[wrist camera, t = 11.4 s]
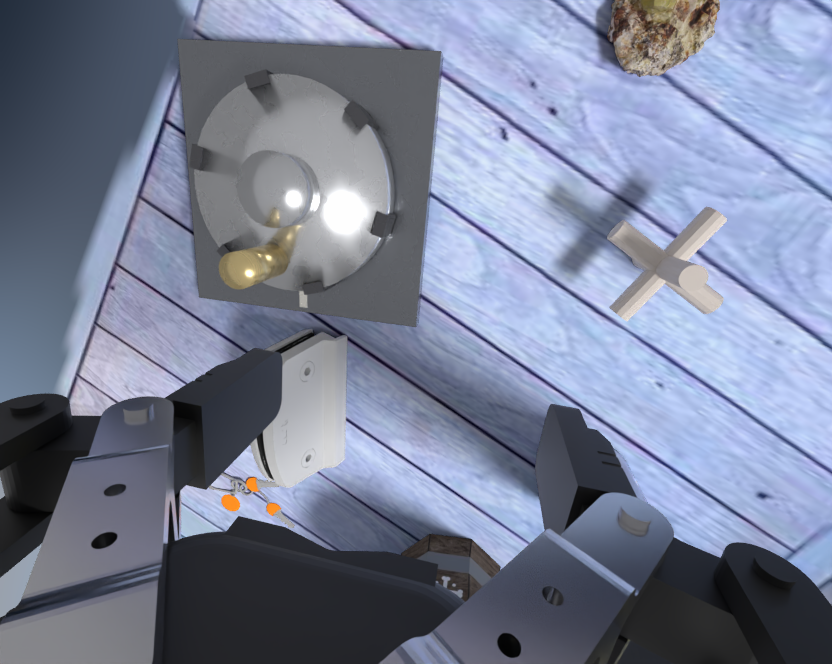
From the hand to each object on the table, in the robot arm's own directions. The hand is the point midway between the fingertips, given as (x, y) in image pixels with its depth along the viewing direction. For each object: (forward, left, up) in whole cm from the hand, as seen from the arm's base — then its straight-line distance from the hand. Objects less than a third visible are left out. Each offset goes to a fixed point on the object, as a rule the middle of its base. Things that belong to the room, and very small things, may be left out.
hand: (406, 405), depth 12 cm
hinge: (-18, +15, -30) cm, 38 cm away
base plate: (+5, +16, -30) cm, 34 cm away
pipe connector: (+2, -16, -30) cm, 34 cm away
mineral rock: (+21, -13, -31) cm, 39 cm away
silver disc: (+5, +16, -28) cm, 33 cm away
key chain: (-34, +24, -31) cm, 52 cm away
